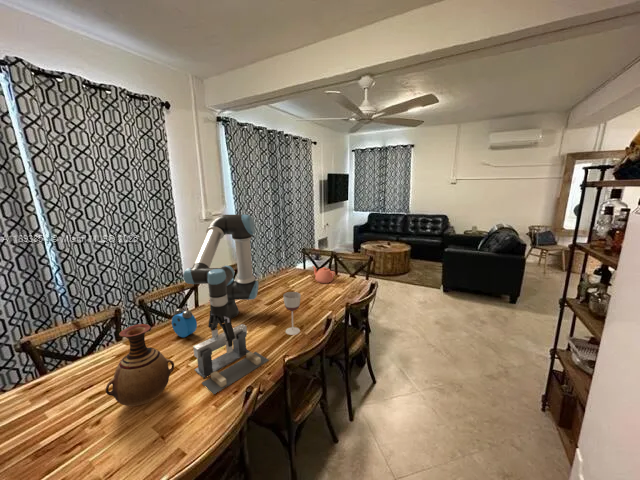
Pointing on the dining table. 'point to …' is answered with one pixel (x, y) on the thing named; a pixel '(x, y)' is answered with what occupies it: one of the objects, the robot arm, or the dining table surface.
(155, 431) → the dining table surface
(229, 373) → the mat
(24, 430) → the dining table surface
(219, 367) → the stand
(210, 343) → the rail
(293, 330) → the wineglass
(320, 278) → the teapot
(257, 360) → the rests
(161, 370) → the vase
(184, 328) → the alarm clock
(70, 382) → the dining table surface
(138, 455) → the dining table surface
